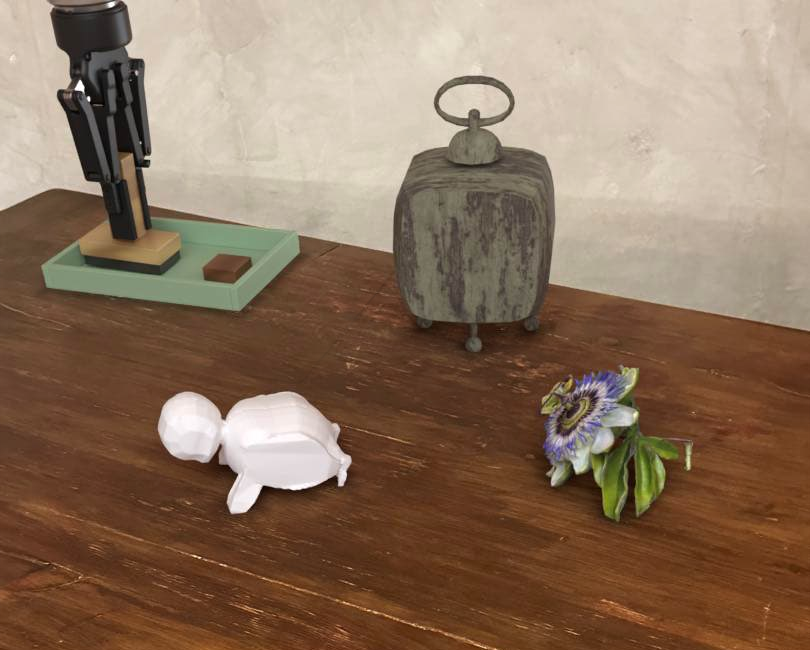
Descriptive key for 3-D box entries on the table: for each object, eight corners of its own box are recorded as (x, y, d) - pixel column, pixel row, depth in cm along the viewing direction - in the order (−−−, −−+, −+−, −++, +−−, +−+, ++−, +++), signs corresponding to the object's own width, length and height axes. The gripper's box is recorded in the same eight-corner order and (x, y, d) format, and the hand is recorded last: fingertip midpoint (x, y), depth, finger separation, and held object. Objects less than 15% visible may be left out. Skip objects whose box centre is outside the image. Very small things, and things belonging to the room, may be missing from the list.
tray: (47, 293, 124) (40, 265, 122) (121, 239, 135) (116, 212, 133) (240, 317, 117) (236, 288, 115) (300, 258, 129) (297, 230, 127)
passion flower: (555, 531, 94) (519, 392, 94) (682, 498, 94) (646, 358, 93) (571, 538, 83) (530, 380, 82) (715, 500, 83) (675, 341, 82)
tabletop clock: (551, 324, 113) (561, 62, 98) (547, 367, 106) (557, 92, 91) (408, 320, 115) (397, 63, 100) (395, 363, 108) (380, 93, 93)
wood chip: (204, 280, 123) (201, 267, 122) (220, 265, 126) (218, 253, 125) (236, 284, 122) (235, 271, 121) (252, 269, 125) (251, 256, 124)
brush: (83, 265, 127) (61, 158, 119) (106, 247, 130) (86, 143, 123) (161, 276, 124) (144, 167, 116) (183, 258, 128) (167, 152, 120)
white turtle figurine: (316, 474, 98) (143, 446, 93) (344, 389, 94) (165, 355, 88) (334, 530, 92) (149, 504, 86) (365, 442, 87) (173, 408, 82)
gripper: (77, 23, 104) (126, 264, 118) (160, -13, 115) (195, 210, 129) (8, 20, 106) (65, 257, 120) (96, -15, 117) (138, 204, 132)
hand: (132, 232), depth 125 cm, fingers closed on brush, 2 cm apart
